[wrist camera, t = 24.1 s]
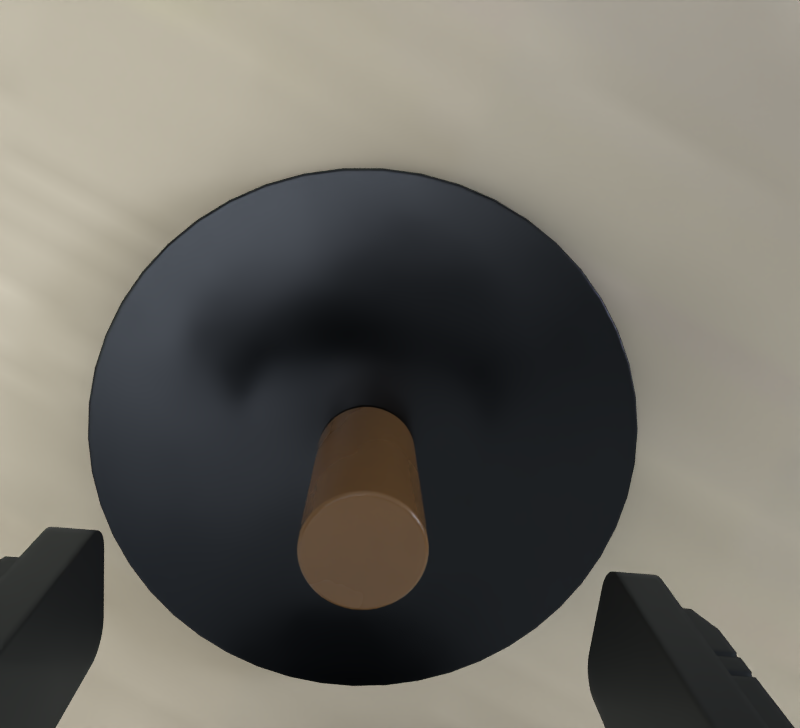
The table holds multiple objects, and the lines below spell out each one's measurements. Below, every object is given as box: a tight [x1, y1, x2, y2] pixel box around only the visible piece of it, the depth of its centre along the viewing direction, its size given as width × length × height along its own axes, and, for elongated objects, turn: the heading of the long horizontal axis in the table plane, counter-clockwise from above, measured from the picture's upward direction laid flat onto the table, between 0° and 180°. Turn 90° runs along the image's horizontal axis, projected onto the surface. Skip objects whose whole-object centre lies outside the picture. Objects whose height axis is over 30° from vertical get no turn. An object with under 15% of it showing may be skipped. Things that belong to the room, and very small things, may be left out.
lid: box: [88, 168, 637, 686], centre depth 16 cm, size 14×14×6 cm
